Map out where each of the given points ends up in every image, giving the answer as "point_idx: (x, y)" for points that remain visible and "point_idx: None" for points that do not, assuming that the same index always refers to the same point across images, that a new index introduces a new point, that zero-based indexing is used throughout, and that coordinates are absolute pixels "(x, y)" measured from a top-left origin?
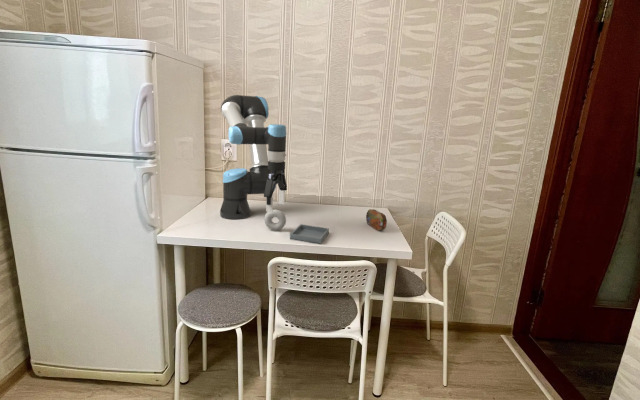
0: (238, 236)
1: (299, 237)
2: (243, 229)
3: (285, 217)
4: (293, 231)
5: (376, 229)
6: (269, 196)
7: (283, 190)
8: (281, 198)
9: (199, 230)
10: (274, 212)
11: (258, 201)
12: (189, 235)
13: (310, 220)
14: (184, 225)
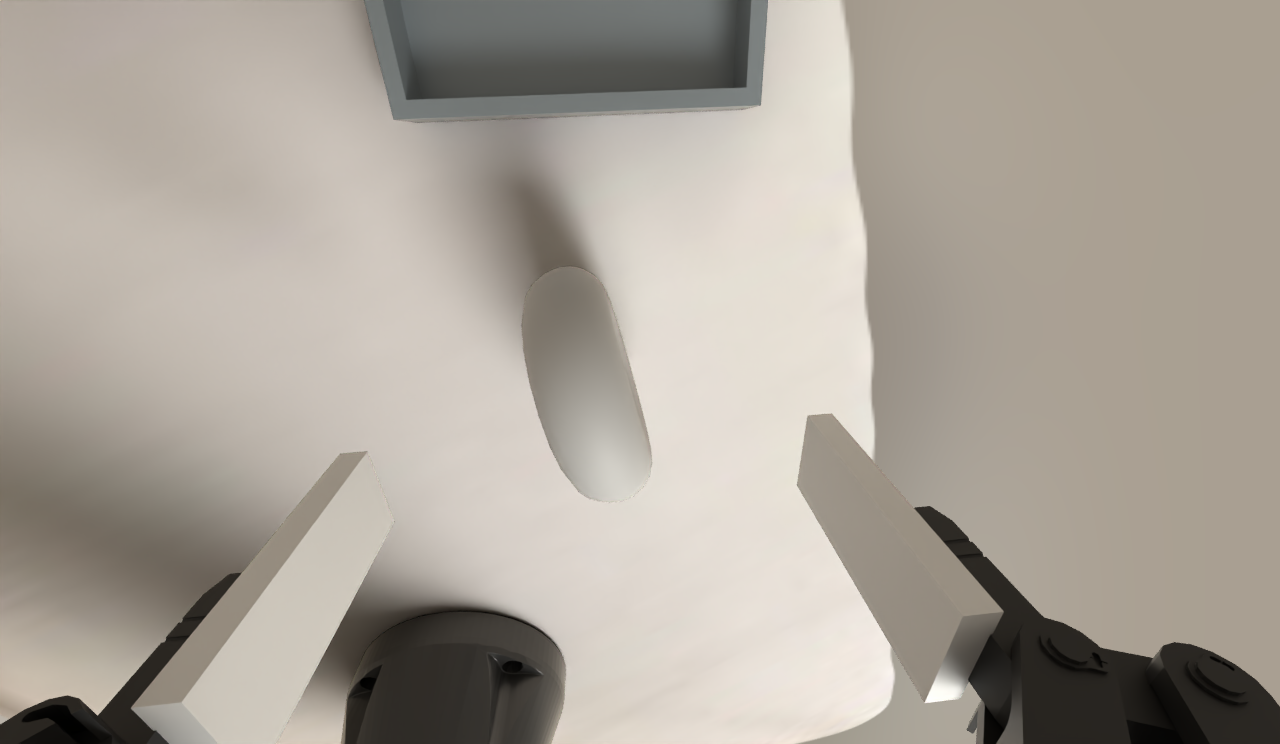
0: None
1: None
2: (685, 520)
3: (556, 289)
4: (673, 100)
5: None
6: (1218, 666)
7: (148, 731)
8: (330, 562)
9: (790, 657)
10: (634, 430)
11: None
12: (866, 650)
13: (45, 119)
14: (752, 724)
